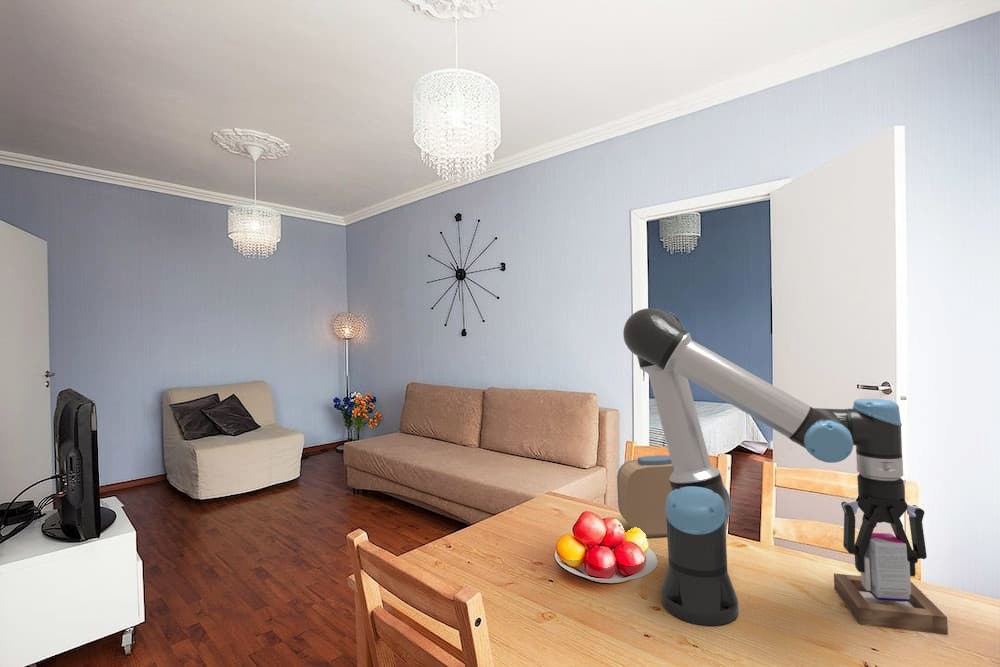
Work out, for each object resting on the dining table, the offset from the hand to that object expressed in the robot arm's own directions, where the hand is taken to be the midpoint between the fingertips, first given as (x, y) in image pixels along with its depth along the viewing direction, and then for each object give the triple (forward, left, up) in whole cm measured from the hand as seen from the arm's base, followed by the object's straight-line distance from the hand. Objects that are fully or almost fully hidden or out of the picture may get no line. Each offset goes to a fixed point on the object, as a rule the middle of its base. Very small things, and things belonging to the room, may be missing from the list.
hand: (885, 589), depth 100 cm
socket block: (0, 0, -4) cm, 4 cm away
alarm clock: (-44, +32, -4) cm, 55 cm away
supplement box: (0, 0, -1) cm, 1 cm away
